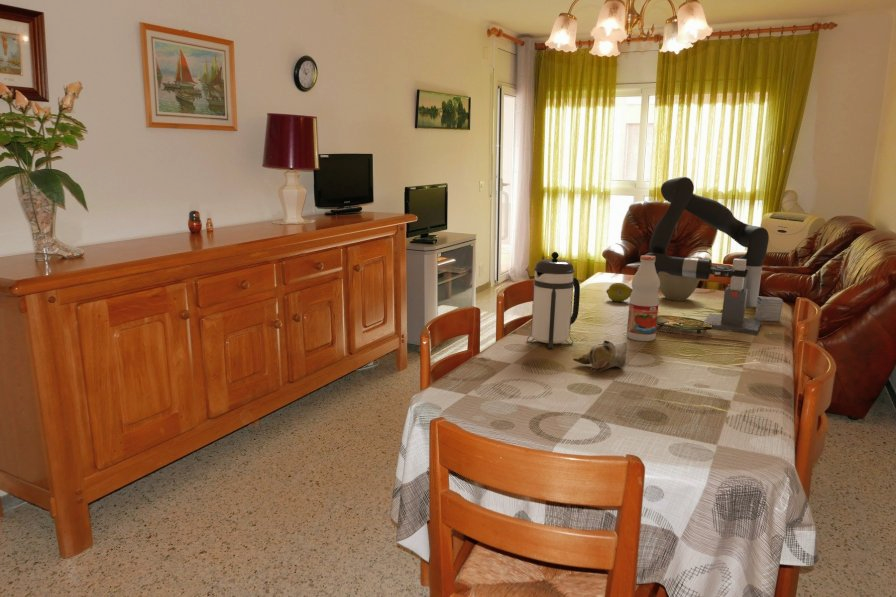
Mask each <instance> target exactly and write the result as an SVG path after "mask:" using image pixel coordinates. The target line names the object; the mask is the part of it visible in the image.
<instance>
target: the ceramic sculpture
mask: <svg viewBox="0 0 896 597" xmlns="http://www.w3.org/2000/svg"><path fill="white" fill-rule="evenodd" d="M627 345H628V344H627V342H626V341H625V342H622V343H617V344H615V345H614V343H613V342H611V341H609V340H604V341H603V343H600V344H596V345H593V346H592V347H591V348H590V350H589V352H587V353H586V354H583V355H582V356H580V357H578V358H572V360H573V361H574V362H576V363H580V364H583V365H591V368H590V370H591V371H594V372H599V373H600V372H603V371H606V370H607V369H610V368H613V367H616V368H620V369H623V368H624V366H625V365H626V363H627V362H626V360H627V354H628V346H627Z"/></svg>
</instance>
